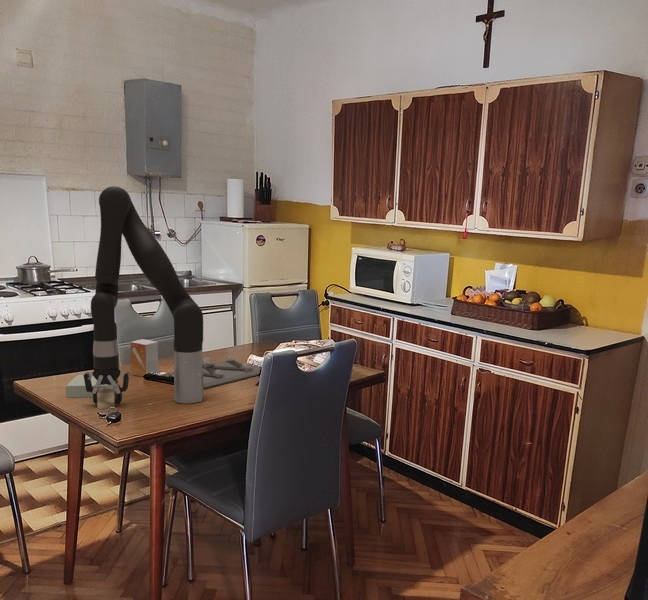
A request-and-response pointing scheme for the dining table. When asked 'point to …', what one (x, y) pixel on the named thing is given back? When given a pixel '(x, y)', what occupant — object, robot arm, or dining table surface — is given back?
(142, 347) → the small box
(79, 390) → the plate
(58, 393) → the dining table surface
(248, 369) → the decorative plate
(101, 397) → the maple cube
